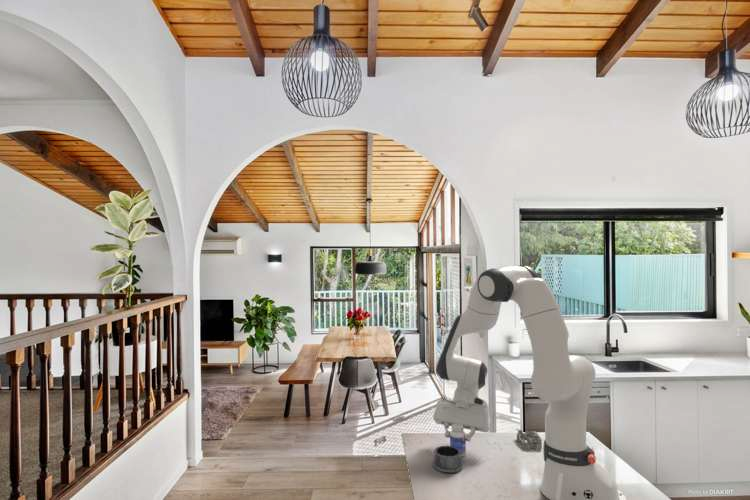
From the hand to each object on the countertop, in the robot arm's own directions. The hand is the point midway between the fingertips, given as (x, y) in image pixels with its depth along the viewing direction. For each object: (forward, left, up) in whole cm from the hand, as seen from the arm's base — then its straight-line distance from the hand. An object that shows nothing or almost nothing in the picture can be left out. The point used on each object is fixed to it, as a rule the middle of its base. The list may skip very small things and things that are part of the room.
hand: (457, 438), depth 154 cm
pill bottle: (0, -1, -6) cm, 6 cm away
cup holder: (0, +10, -5) cm, 12 cm away
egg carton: (-21, -20, -6) cm, 30 cm away
